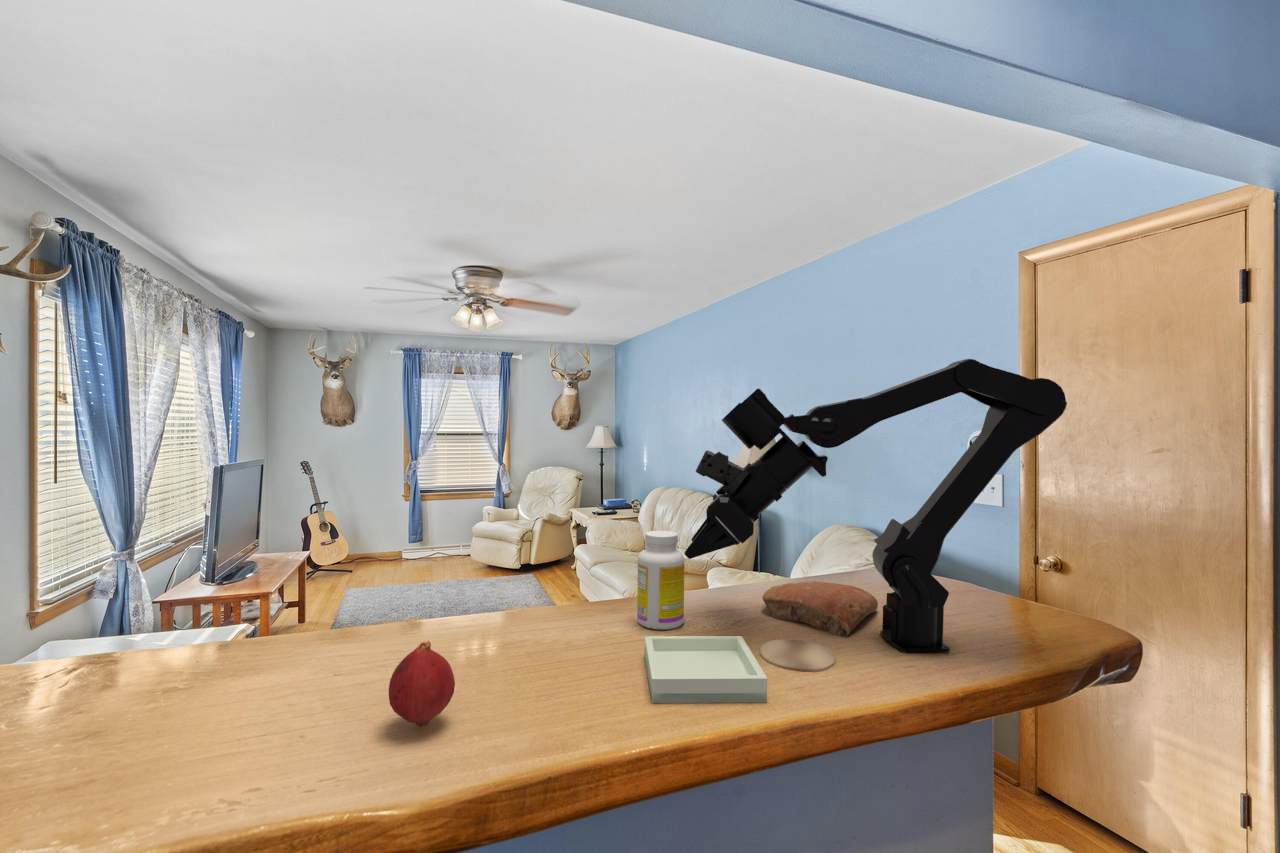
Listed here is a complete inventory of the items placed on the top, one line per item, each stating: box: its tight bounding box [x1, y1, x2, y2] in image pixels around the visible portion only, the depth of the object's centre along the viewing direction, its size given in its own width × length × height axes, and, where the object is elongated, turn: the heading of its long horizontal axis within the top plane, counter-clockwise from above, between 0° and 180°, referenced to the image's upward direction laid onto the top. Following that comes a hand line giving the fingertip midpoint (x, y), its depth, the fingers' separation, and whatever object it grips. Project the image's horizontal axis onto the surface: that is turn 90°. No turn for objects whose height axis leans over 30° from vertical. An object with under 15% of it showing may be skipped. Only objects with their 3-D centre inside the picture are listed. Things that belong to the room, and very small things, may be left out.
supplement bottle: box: [636, 530, 685, 631], centre depth 86 cm, size 7×7×13 cm
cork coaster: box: [759, 638, 836, 672], centre depth 75 cm, size 9×9×1 cm
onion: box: [388, 640, 456, 727], centre depth 57 cm, size 6×6×8 cm
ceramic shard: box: [761, 580, 879, 638], centre depth 92 cm, size 15×6×15 cm
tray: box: [643, 635, 768, 704], centre depth 68 cm, size 12×12×2 cm
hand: (690, 548), depth 85 cm, fingers open, 9 cm apart
